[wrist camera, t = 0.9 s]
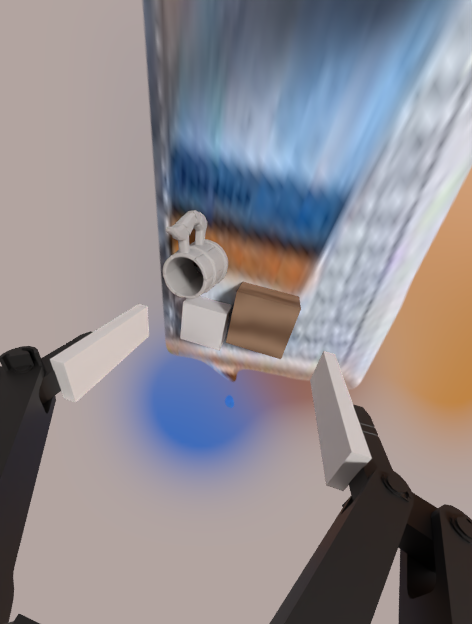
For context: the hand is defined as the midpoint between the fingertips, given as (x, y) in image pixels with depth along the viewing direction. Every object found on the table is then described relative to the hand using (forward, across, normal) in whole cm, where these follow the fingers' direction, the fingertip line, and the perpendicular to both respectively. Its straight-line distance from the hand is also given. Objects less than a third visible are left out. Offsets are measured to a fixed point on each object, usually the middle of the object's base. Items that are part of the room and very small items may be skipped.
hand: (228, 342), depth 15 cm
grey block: (+22, -8, -12) cm, 26 cm away
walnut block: (+22, +2, -8) cm, 23 cm away
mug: (+22, -9, +2) cm, 24 cm away
